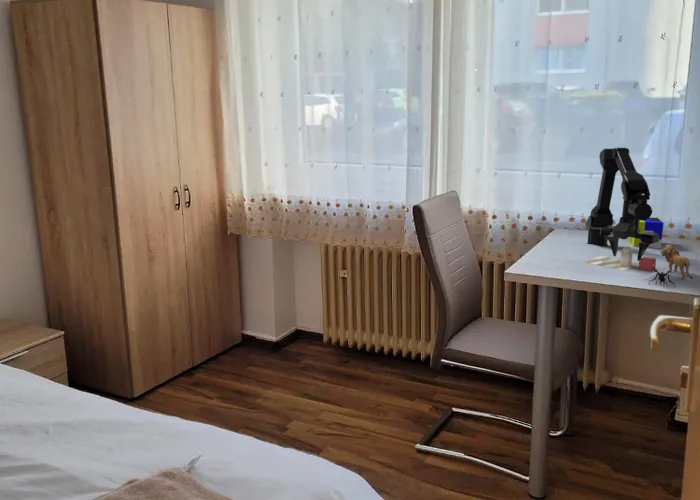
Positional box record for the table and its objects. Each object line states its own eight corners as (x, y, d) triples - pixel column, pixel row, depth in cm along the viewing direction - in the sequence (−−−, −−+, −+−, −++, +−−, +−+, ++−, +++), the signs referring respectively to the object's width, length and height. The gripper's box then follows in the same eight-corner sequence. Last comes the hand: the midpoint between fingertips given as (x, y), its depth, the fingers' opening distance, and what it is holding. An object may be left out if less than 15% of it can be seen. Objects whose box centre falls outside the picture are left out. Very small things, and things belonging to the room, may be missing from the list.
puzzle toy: (660, 247, 263) (663, 222, 261) (633, 246, 265) (636, 221, 263) (654, 242, 273) (657, 217, 270) (628, 240, 275) (631, 216, 272)
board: (582, 264, 240) (582, 262, 240) (601, 257, 249) (602, 255, 249) (623, 273, 229) (623, 270, 229) (641, 265, 238) (642, 263, 238)
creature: (675, 293, 212) (674, 280, 218) (677, 278, 209) (676, 266, 216) (648, 290, 215) (648, 278, 221) (650, 275, 212) (650, 263, 219)
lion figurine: (655, 269, 234) (658, 244, 232) (668, 268, 235) (672, 243, 233) (686, 281, 220) (689, 254, 218) (700, 280, 221) (703, 253, 219)
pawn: (618, 265, 235) (620, 246, 234) (623, 263, 238) (625, 244, 236) (628, 267, 233) (630, 248, 231) (633, 265, 235) (635, 246, 234)
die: (639, 259, 231) (651, 261, 227) (644, 256, 233) (657, 258, 230) (638, 271, 232) (651, 273, 229) (644, 268, 235) (656, 270, 231)
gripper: (594, 213, 232) (590, 257, 236) (647, 221, 219) (642, 268, 223) (609, 209, 240) (605, 251, 243) (662, 217, 226) (657, 262, 230)
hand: (626, 258), depth 235 cm, fingers open, 8 cm apart
